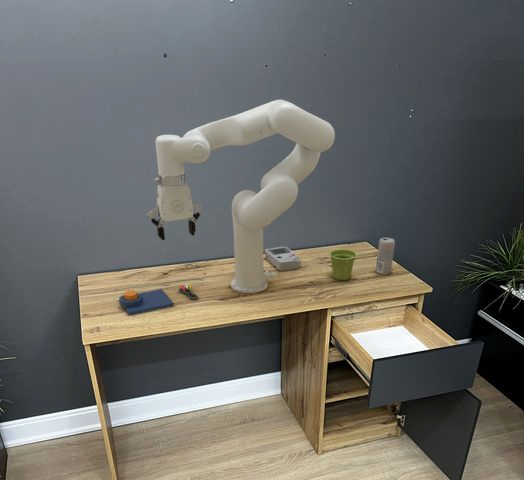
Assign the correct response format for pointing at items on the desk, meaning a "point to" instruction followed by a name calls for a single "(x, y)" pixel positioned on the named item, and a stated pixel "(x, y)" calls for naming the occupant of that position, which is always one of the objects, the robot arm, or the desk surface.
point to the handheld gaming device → (283, 258)
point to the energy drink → (385, 256)
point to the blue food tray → (146, 302)
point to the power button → (130, 295)
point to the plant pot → (342, 263)
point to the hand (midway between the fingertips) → (177, 236)
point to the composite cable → (188, 291)
